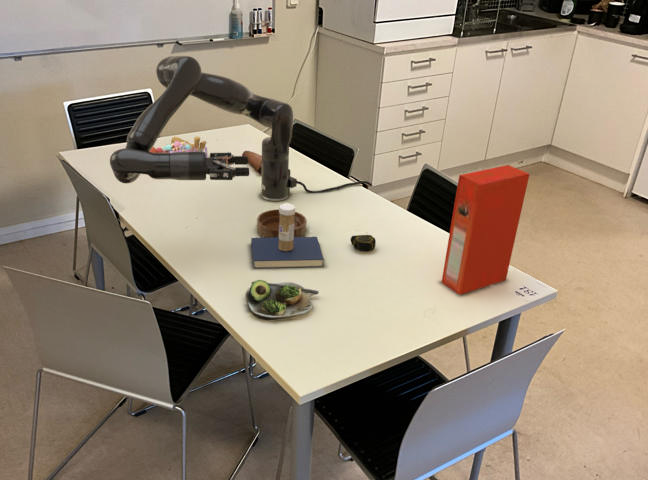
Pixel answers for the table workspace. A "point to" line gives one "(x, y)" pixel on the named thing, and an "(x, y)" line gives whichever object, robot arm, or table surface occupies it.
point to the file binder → (483, 227)
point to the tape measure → (363, 242)
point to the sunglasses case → (254, 160)
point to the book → (286, 253)
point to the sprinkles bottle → (286, 227)
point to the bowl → (270, 224)
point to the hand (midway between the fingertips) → (248, 165)
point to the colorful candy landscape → (182, 146)
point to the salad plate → (278, 300)
